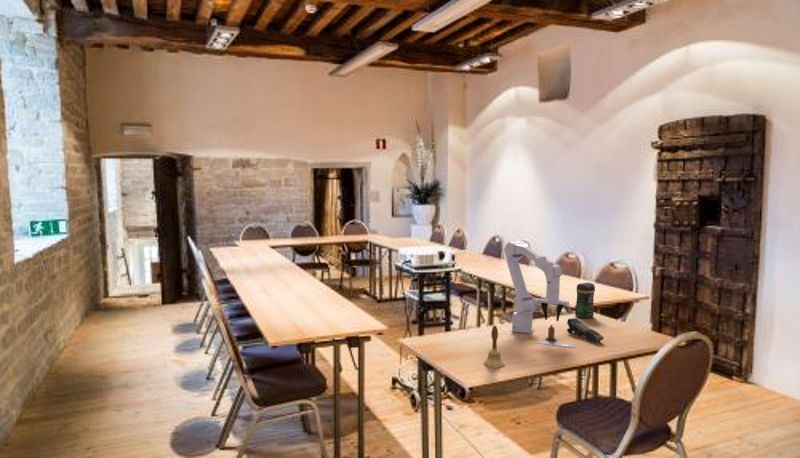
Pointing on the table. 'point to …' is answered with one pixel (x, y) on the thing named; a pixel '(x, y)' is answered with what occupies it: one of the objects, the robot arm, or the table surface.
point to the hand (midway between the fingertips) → (551, 319)
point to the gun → (583, 330)
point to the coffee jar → (585, 300)
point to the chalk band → (556, 344)
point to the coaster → (551, 340)
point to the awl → (551, 333)
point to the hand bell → (494, 352)
